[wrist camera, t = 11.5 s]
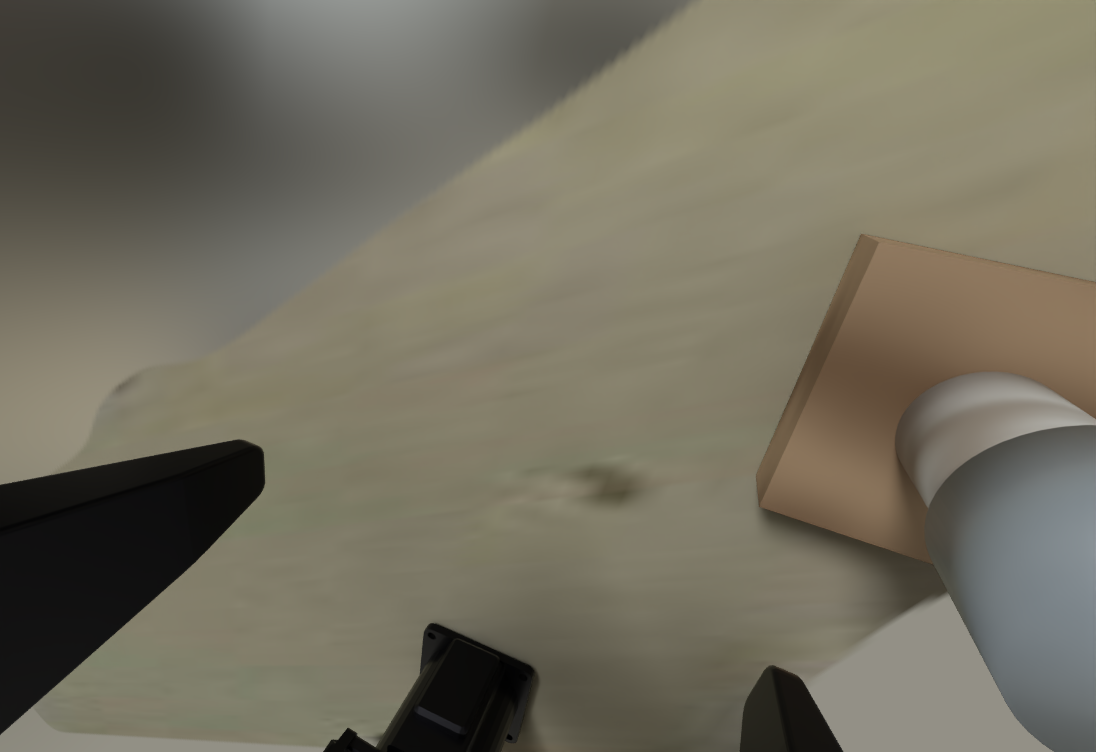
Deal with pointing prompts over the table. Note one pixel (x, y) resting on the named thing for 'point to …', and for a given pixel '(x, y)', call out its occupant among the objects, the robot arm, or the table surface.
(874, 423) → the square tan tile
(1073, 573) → the smooth rounded gray lump
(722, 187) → the table surface
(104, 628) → the robot arm
